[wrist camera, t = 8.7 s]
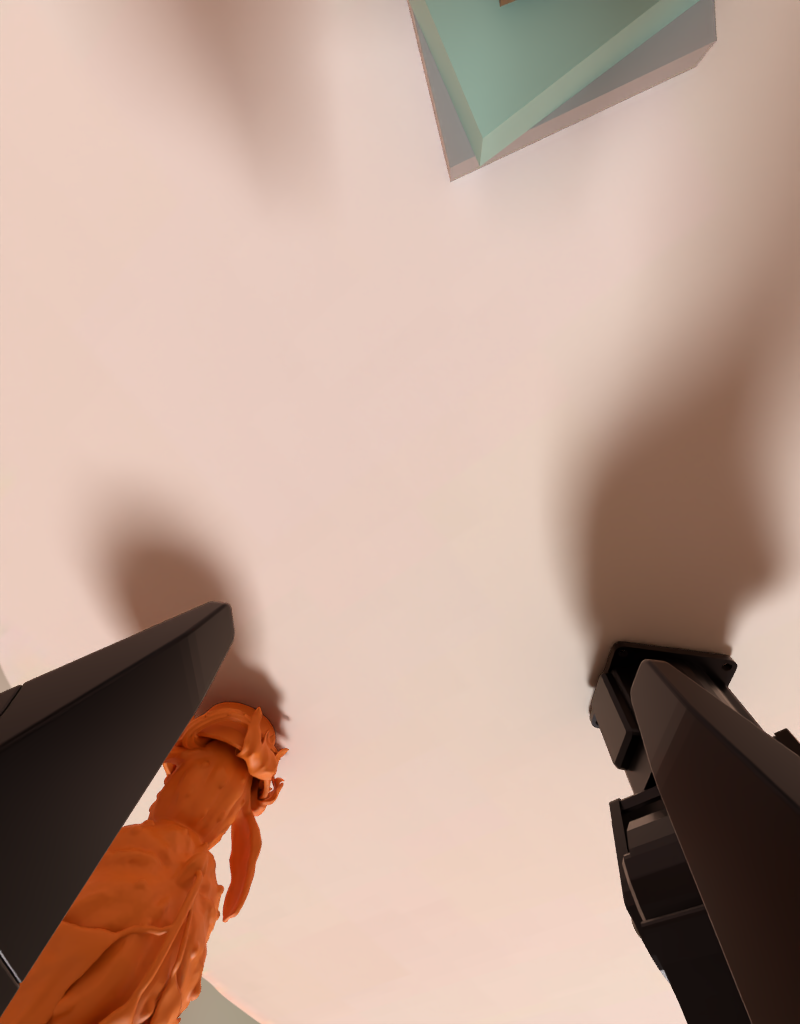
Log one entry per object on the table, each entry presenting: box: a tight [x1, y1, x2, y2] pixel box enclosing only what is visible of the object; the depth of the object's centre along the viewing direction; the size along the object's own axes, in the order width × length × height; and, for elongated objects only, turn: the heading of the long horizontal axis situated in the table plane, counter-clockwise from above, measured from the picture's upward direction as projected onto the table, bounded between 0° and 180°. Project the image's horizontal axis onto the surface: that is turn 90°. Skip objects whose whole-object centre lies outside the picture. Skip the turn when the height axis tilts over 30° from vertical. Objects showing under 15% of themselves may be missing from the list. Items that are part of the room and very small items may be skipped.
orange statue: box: [0, 702, 289, 1024], centre depth 22 cm, size 11×11×18 cm
